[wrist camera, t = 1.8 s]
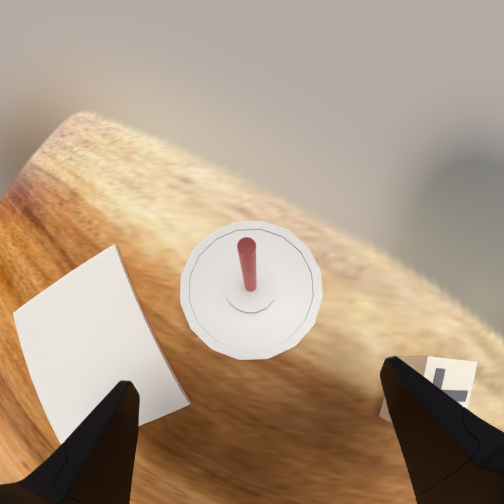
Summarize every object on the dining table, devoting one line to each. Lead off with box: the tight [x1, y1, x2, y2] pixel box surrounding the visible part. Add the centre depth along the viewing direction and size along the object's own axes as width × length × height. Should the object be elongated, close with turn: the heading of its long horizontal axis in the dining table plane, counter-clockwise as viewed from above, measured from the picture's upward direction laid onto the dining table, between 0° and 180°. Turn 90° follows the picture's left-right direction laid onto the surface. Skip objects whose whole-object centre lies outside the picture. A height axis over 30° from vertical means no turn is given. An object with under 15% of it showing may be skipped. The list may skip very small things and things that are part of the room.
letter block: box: [379, 356, 477, 423], centre depth 15 cm, size 5×5×5 cm
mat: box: [13, 244, 191, 444], centre depth 19 cm, size 14×14×1 cm
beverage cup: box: [180, 221, 323, 360], centre depth 14 cm, size 6×6×14 cm
